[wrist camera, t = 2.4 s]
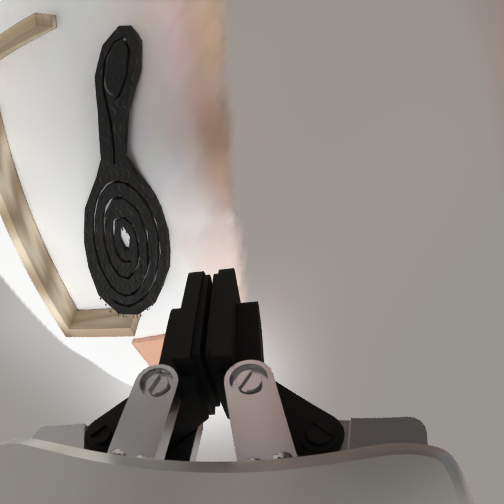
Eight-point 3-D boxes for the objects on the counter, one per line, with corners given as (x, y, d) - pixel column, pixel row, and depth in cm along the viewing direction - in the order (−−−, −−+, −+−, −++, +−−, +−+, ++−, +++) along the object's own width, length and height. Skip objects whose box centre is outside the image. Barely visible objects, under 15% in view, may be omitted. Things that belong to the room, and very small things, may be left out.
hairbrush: (174, 17, 15) (166, 326, 27) (184, 26, 18) (172, 301, 30) (62, 29, 14) (85, 315, 26) (85, 34, 17) (97, 292, 30)
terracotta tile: (134, 335, 34) (131, 343, 33) (186, 327, 33) (185, 335, 32) (160, 369, 38) (159, 376, 37) (209, 362, 37) (208, 370, 36)
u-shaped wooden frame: (-17, 59, 15) (-38, 63, 12) (55, 15, 15) (34, 12, 12) (74, 318, 32) (66, 336, 29) (140, 315, 31) (134, 335, 29)
